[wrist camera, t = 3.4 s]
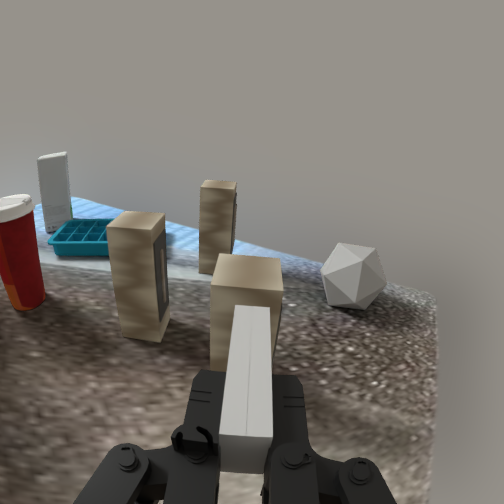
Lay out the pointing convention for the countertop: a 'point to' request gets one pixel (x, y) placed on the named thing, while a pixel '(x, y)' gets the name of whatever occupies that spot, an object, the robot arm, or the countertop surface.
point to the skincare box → (54, 190)
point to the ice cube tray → (81, 238)
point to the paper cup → (20, 253)
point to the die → (352, 276)
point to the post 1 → (140, 273)
